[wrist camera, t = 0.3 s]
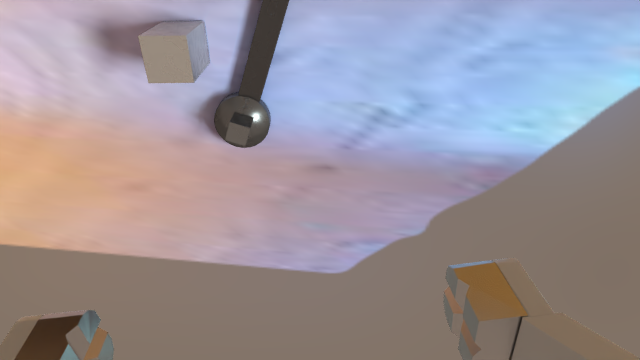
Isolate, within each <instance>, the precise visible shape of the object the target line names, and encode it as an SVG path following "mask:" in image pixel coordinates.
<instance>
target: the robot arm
mask: <svg viewBox="0 0 640 360" xmlns="http://www.w3.org/2000/svg"><path fill="white" fill-rule="evenodd" d="M446 280H447V282H448V285H449V287H448V288H447V289H446V290H445V291H444V301H443V302H444V310H445V315H446V319H447V322H448V325H449V327H450V330H451V332H452V333H454V334H455V335H456V336H458V337H459V338H460V339H459V346H458V350H459V352H460V354H461V357H462V359H463V360H640V358H638V357H637V356H635V355H633V354H631V353H630V352H628V351H626V350H625V349H623V348H621V347H620V346H617V345H616V344H614V343H613V342H611V341H609V340H607V339H606V338H604V337H602V336H601V335H599V334H597V333H596V332H594V331H592V330H591V329H589V328H587V327H585V326H584V325H582V324H580V323H579V322H577V321H575V320H573V319H571V318H570V317H568V316H567V315H565V314H563V313H554V311H553V310H552V309H551V307H550V306H549V304H548V303H547V301H546V300H545V299H544V297H543V296H542V294H541V293H540V292H539V290H538V288H537V287H536V286H535V284H534V283H533V281H532V280H531V278H530V277H529V276H528V274H527V273H526V271H525V270H524V269H523V267H522V266H521V264H520V263H519V261H518V260H517V259H515V258H506V259H498V260H492V261H483V262H474V263H467V264H459V265H452V266H448V268H447V271H446ZM100 321H101V319H100V318H99V316H98V315H97V314H96V312H95V311H94V310H84V311H74V312H64V313H53V314H45V315H37V316H26V317H22V318H21V319H20V320H18V321H17V322H16V323H15V324H14V325H13V327H12V328H11V330H10V331H9V333H8V335H7V336H6V338H5V339H4V341H3V342H2V344H1V345H0V360H113V353H114V348H113V342H112V339H111V337H110V335H109V334H108V332H106V331H104V330H102V329H101V328H99V327H98V325H99V323H100Z"/></svg>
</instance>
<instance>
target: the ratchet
mask: <svg viewBox="0 0 640 360" xmlns="http://www.w3.org/2000/svg"><path fill="white" fill-rule="evenodd" d="M288 3H289V0H263V2H262V6H261V10H260V14H259V18H258V21H257V25H256V29H255V33H254V37H253V41H252V44H251V48H250V52H249V56H248V60H247V64H246V67H245V71H244V75H243V79H242V83H241V86H240V90H239V92H238V93H233V94H231V95H229V96H227V97H226V98H224V99H223V100H222V102H221V103H220V105H219V107H218V108H217V110H216V113H215V118H214V122H215V127H216V130H217V132H218V134H219V135H220V136H221V137H222V138H223V139H224V140H225V141H226V142H228V143H229V144H231V145H233V146H236V147H242V148H246V147H252V146H255V145H257V144H259V143H260V142H262V141H263V140H264V138H265V137H266V135H267V133H268V130H269V126H270V121H271V118H270V112H269V110H268V108H267V106H266V104H265V103H264V102H263V101H262V100H261V95H262V92H263V88H264V85H265V82H266V78H267V75H268V71H269V68H270V64H271V61H272V58H273V54H274V51H275V47H276V44H277V40H278V37H279V34H280V30H281V27H282V23H283V20H284V16H285V13H286V10H287V6H288Z"/></svg>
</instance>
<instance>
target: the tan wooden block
mask: <svg viewBox="0 0 640 360" xmlns="http://www.w3.org/2000/svg"><path fill="white" fill-rule="evenodd" d="M138 38H139V43H140V47H141V52H142V56H143V60H144V65H145V69H146V74H147V78H148V83H194V82H195V81H196V80H197V78H198V77H199V76H200V75H201V73H202V72H203V71H204V70H205V68H206V67H207V66H208V65H209V63H210V58H209V52H208V45H207V38H206V31H205V24H204V21H163V22H161V23H159V24H157V25H156V26H154V27H152V28H151V29H149V30H147V31H146V32H144V33H142V34H141V35H139V36H138Z"/></svg>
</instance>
